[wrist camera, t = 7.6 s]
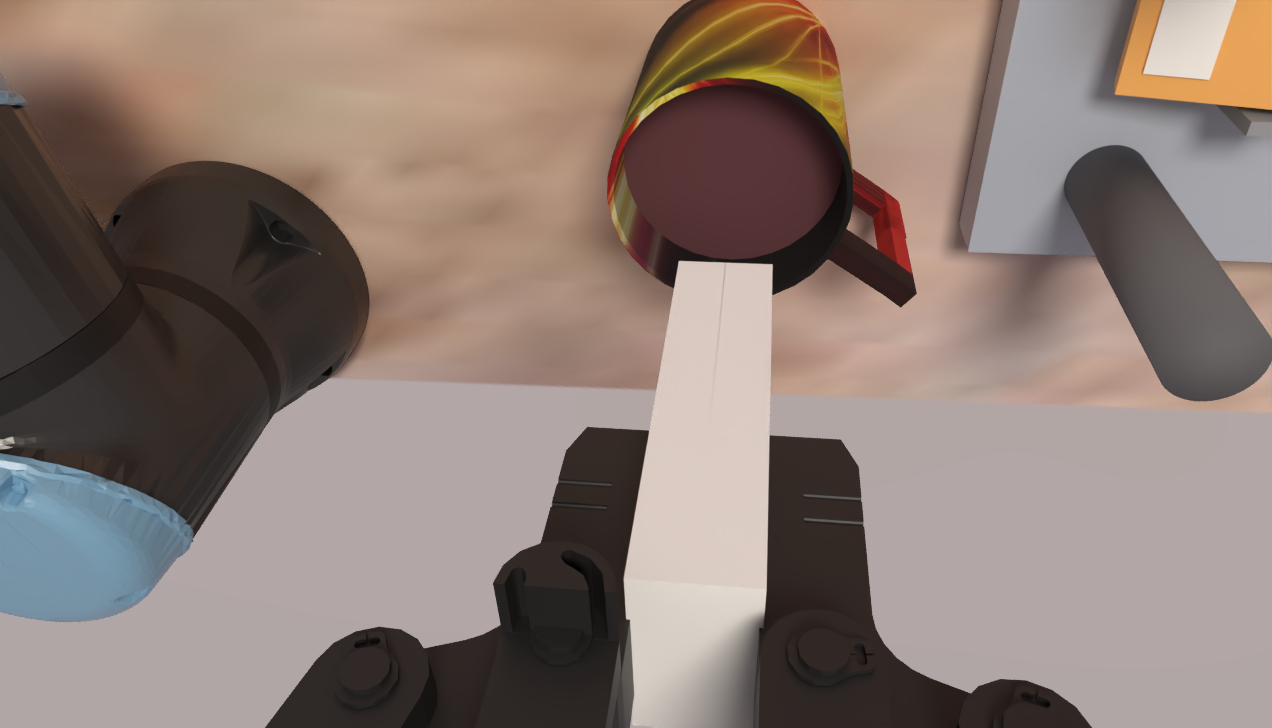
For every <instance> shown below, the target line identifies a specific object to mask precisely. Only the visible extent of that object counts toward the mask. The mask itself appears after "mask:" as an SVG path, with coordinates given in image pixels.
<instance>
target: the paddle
mask: <svg viewBox="0 0 1272 728" xmlns="http://www.w3.org/2000/svg"><path fill="white" fill-rule="evenodd" d="M1114 86H1115V94H1116V95H1126V96H1136V97H1146V98H1156V99H1167V100H1177V101H1187V102H1197V103H1207V104H1217V105H1228V106H1238V107H1248V108H1258V109H1268V110H1272V0H1137V2H1136V6H1135V9H1134V13H1133V16H1132V20H1131V24H1130V27H1129V31H1128V34H1127V38H1126V41H1125V45H1124V49H1123V52H1122V56H1121V59H1120V63H1119V67H1118V70H1117V74H1116V77H1115V81H1114Z"/></svg>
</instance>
